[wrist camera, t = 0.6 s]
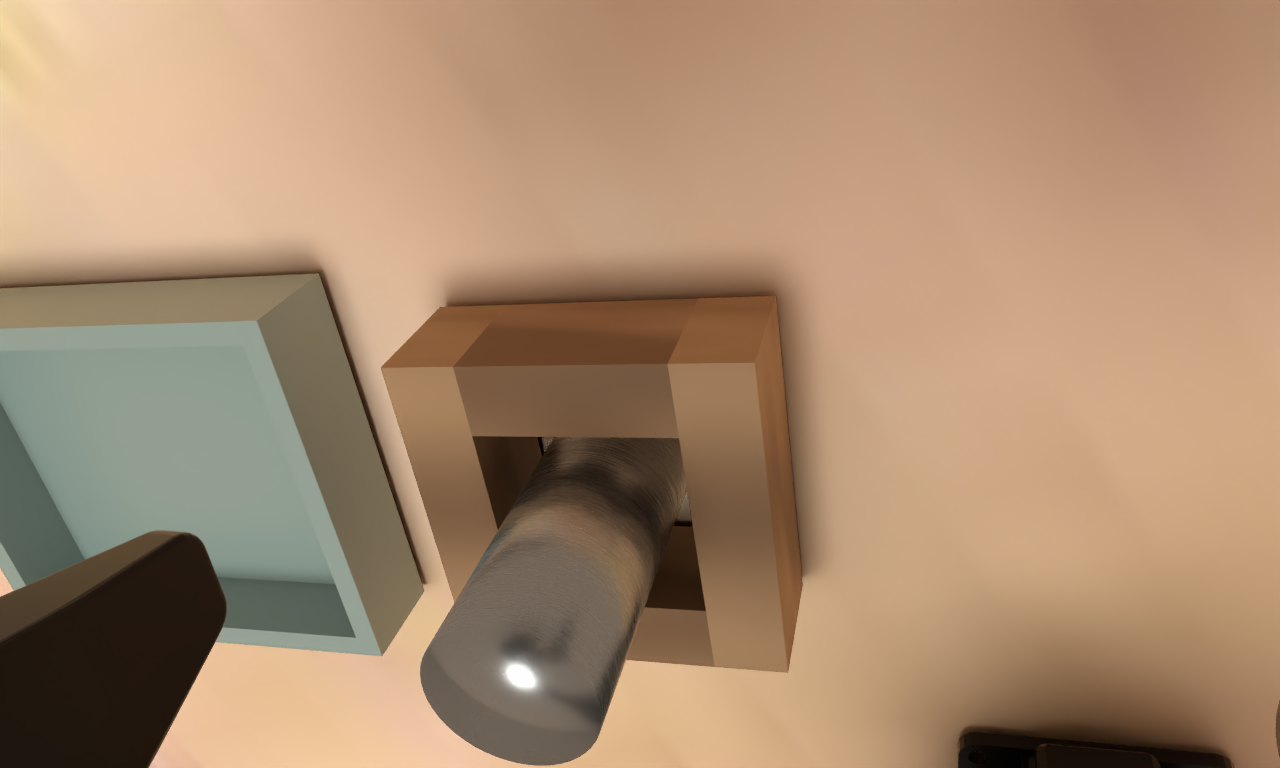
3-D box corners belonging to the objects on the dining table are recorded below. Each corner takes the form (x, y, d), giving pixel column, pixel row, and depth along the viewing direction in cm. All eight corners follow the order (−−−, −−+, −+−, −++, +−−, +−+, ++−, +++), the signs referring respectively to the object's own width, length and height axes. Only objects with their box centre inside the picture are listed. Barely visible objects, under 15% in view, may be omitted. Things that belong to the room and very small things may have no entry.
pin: (703, 507, 24) (616, 774, 17) (575, 503, 25) (446, 754, 18) (685, 389, 23) (582, 633, 16) (549, 389, 24) (398, 620, 17)
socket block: (802, 584, 25) (788, 672, 22) (511, 569, 27) (468, 647, 24) (776, 295, 21) (754, 362, 18) (440, 306, 23) (380, 367, 21)
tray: (424, 590, 28) (382, 656, 26) (96, 570, 32) (34, 626, 30) (318, 273, 23) (256, 320, 21) (-53, 291, 27) (-139, 333, 25)
